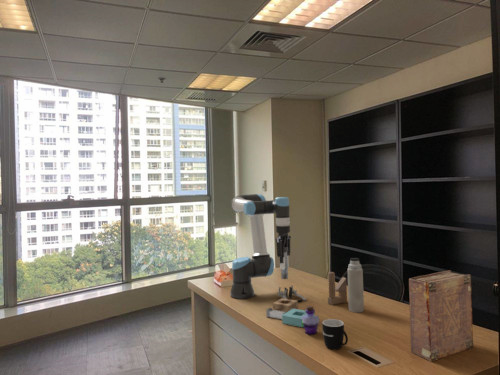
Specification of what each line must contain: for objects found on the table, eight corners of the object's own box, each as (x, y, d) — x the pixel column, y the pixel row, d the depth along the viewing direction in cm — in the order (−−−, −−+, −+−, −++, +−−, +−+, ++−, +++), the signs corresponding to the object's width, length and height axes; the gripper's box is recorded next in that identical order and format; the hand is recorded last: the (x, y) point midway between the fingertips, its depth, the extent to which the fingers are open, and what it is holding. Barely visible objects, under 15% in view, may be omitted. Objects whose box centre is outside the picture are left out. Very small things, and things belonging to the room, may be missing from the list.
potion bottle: (298, 330, 177) (297, 305, 177) (314, 327, 180) (313, 302, 180) (307, 337, 169) (306, 310, 169) (323, 334, 172) (322, 308, 172)
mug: (318, 346, 160) (317, 322, 160) (332, 340, 165) (332, 317, 165) (340, 355, 150) (339, 330, 150) (355, 349, 155) (354, 325, 155)
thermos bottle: (350, 307, 209) (348, 256, 209) (364, 308, 205) (363, 257, 205) (347, 311, 201) (345, 259, 201) (362, 313, 198) (361, 260, 198)
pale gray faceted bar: (266, 316, 197) (266, 309, 197) (269, 314, 200) (269, 307, 200) (289, 320, 190) (289, 313, 190) (292, 318, 193) (292, 311, 193)
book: (452, 339, 162) (450, 270, 162) (473, 347, 153) (471, 274, 153) (410, 352, 151) (408, 278, 150) (431, 362, 142) (428, 283, 142)
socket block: (282, 323, 187) (282, 315, 187) (293, 316, 197) (292, 308, 197) (304, 327, 181) (304, 319, 181) (314, 319, 191) (314, 311, 191)
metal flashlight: (279, 278, 205) (278, 247, 205) (283, 277, 208) (282, 246, 208) (286, 279, 202) (285, 248, 202) (290, 277, 206) (289, 246, 206)
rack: (273, 312, 204) (272, 303, 204) (281, 307, 212) (281, 298, 212) (289, 315, 198) (289, 305, 198) (298, 309, 207) (297, 300, 207)
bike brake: (274, 297, 230) (293, 311, 212) (275, 286, 229) (294, 299, 211) (292, 293, 236) (312, 306, 219) (293, 283, 235) (313, 295, 218)
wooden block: (347, 302, 217) (346, 271, 216) (331, 305, 213) (330, 273, 213) (343, 300, 220) (342, 270, 220) (327, 303, 216) (326, 272, 216)
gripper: (281, 227, 196) (283, 272, 196) (295, 223, 210) (297, 265, 210) (269, 226, 200) (270, 270, 200) (283, 223, 214) (285, 264, 214)
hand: (284, 268), depth 205 cm, fingers closed on metal flashlight, 3 cm apart
